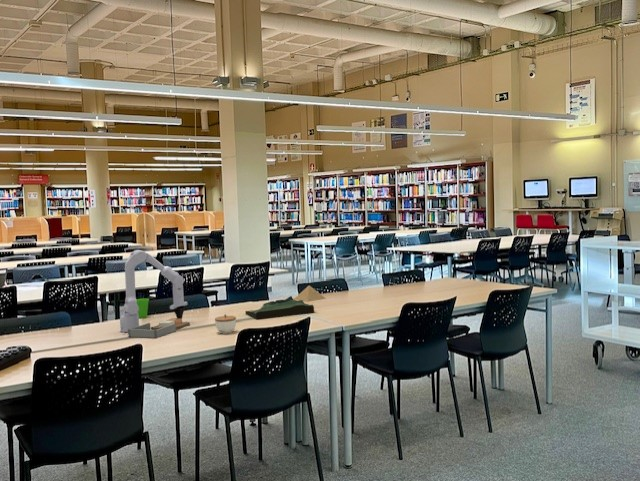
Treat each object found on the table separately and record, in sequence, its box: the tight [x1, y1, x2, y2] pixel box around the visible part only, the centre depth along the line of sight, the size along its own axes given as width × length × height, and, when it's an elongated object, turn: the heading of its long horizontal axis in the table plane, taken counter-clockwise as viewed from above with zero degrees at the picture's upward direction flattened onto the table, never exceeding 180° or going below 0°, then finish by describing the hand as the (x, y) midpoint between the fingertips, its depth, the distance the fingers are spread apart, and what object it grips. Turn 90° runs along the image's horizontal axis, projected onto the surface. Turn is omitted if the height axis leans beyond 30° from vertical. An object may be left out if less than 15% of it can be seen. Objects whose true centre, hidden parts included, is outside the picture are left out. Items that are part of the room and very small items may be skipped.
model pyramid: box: [293, 285, 327, 303], centre depth 412 cm, size 17×17×10 cm
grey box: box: [127, 322, 177, 339], centre depth 315 cm, size 17×17×4 cm
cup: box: [136, 298, 150, 319], centre depth 365 cm, size 9×9×11 cm
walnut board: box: [150, 321, 191, 331], centre depth 330 cm, size 14×16×2 cm
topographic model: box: [245, 295, 315, 321], centre depth 360 cm, size 36×22×10 cm, turn 114°
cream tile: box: [158, 320, 175, 327], centre depth 327 cm, size 6×6×2 cm
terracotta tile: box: [165, 317, 183, 325], centre depth 333 cm, size 6×6×2 cm
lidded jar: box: [214, 313, 237, 335], centre depth 311 cm, size 11×11×9 cm
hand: (179, 320), depth 338 cm, fingers closed
